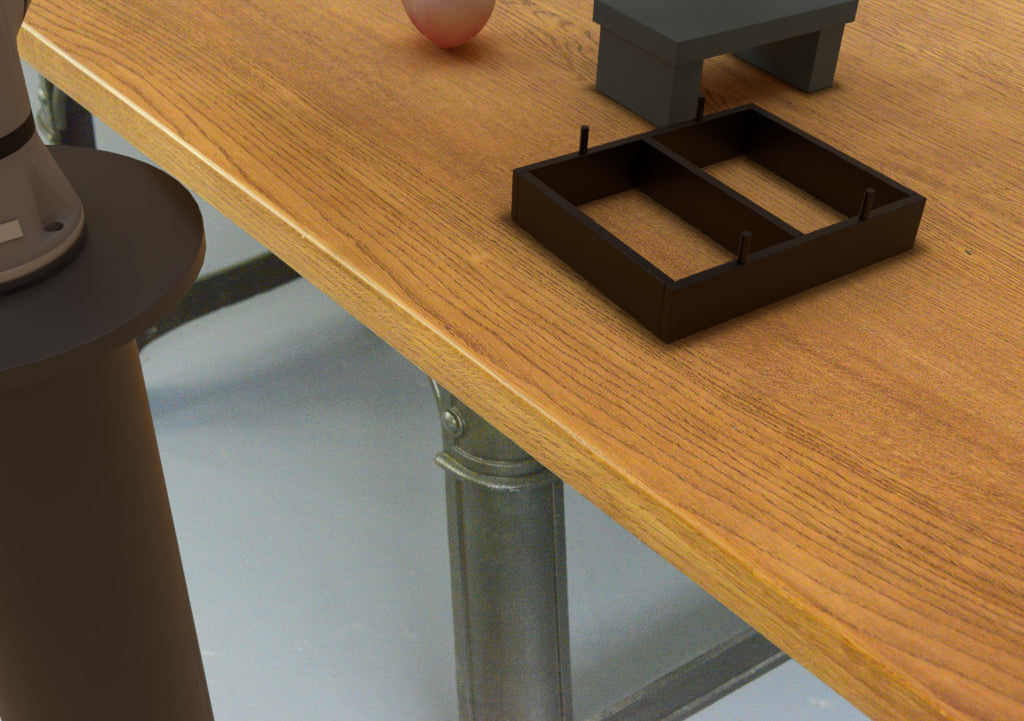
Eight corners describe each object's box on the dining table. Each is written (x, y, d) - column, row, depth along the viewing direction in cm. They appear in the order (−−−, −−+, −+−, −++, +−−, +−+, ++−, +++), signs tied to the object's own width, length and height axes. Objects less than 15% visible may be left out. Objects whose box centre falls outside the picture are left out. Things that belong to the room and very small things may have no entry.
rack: (510, 218, 82) (513, 142, 79) (743, 148, 92) (755, 77, 89) (666, 344, 71) (677, 261, 67) (913, 248, 81) (935, 171, 77)
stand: (587, 87, 101) (593, -3, 96) (756, 45, 110) (770, -39, 105) (666, 136, 94) (678, 42, 89) (840, 87, 103) (859, -2, 98)
